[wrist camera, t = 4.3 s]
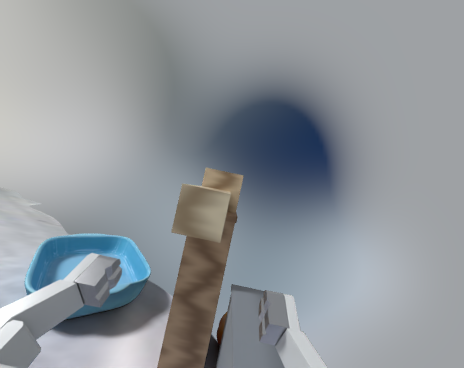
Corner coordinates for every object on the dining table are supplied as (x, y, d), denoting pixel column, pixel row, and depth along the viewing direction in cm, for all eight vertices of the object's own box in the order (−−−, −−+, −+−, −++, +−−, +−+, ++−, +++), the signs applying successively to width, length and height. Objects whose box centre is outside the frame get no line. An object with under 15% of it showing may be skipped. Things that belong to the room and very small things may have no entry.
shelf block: (154, 374, 28) (191, 207, 29) (179, 312, 42) (204, 201, 43) (201, 384, 28) (237, 217, 29) (211, 319, 42) (235, 208, 43)
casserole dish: (38, 254, 54) (44, 230, 54) (124, 250, 68) (128, 231, 69) (-4, 360, 26) (9, 309, 26) (156, 316, 40) (163, 283, 40)
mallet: (148, 227, 13) (170, 133, 14) (203, 202, 41) (210, 172, 42) (243, 247, 13) (263, 153, 14) (234, 209, 41) (240, 178, 42)
